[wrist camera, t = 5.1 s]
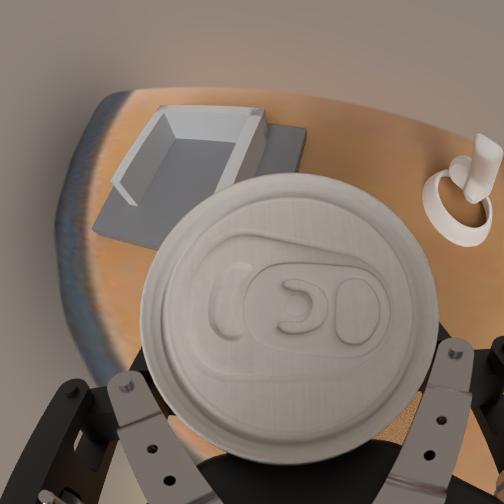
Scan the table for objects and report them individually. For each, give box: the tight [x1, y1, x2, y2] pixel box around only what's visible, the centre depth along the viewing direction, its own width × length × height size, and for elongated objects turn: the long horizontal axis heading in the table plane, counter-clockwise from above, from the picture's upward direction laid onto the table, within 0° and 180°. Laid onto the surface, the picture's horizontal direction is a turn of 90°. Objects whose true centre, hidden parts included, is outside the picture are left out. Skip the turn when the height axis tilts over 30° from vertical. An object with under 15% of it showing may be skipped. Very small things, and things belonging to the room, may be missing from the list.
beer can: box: [140, 173, 439, 465], centre depth 11 cm, size 6×6×15 cm
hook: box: [422, 133, 503, 247], centre depth 18 cm, size 8×12×7 cm
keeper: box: [92, 105, 306, 251], centre depth 23 cm, size 16×14×5 cm
